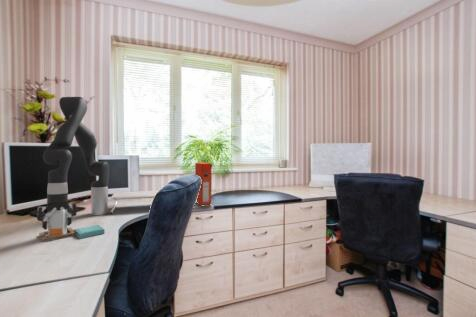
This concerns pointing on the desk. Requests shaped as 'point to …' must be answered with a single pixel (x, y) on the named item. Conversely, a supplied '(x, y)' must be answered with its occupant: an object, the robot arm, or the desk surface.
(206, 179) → the file binder
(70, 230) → the wooden square frame
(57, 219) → the skincare box
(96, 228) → the tile
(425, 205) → the desk surface
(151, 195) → the monitor stand
